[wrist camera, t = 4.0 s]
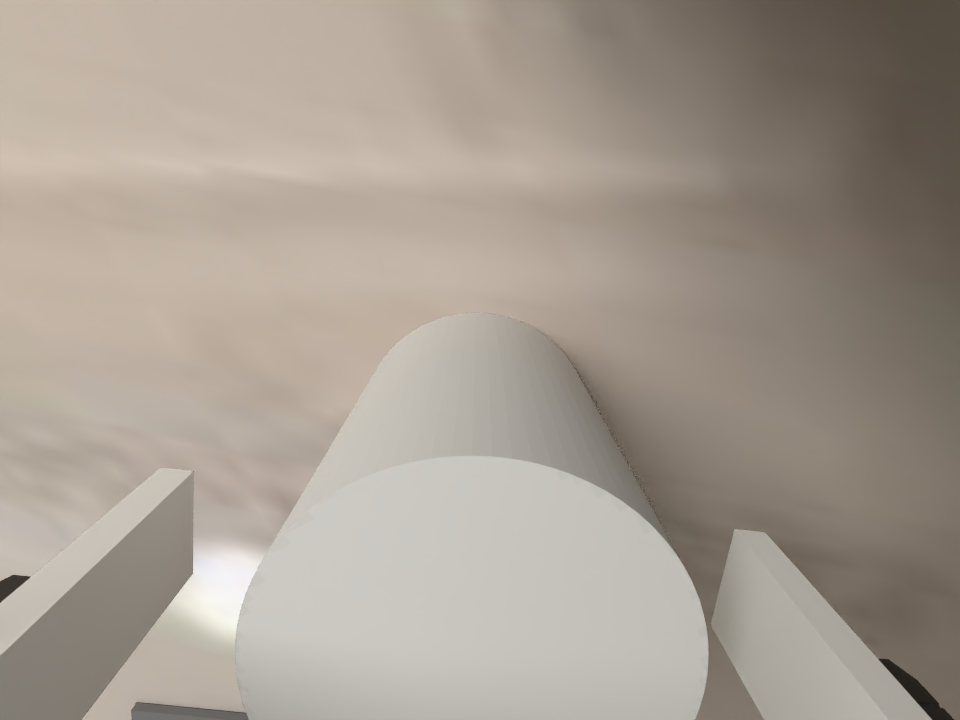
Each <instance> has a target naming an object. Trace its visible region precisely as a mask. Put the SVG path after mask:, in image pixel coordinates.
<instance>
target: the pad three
mask: <svg viewBox="0 0 960 720" xmlns="http://www.w3.org/2000/svg"><path fill="white" fill-rule="evenodd" d="M131 713H132V720H249V719H248V717H247V714H246V713H237V712H227V711H217V710H207V709H197V708H187V707H177V706H167V705H156V704H146V703H136V704H135V706H134V707H133V709H132V710H131Z"/></svg>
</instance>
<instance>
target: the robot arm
mask: <svg viewBox="0 0 960 720" xmlns="http://www.w3.org/2000/svg"><path fill="white" fill-rule="evenodd" d="M193 492H194V471H188V470H179V469H169V468H160V469H159V470H157V471H156V472H155V473H154V474H153V475H151V476H150V477H149V478H148V479H147V480H145V481H144V482H143V483H142V484H141V485H140V486H138V487H137V488H136V489H135V490H134V491H132V492H131V493H130V494H129V495H128V496H127V497H125V498H124V499H123V500H122V501H121V502H119V503H118V504H117V505H116V506H115V507H113V508H112V509H111V510H110V511H109V512H108V513H106V514H105V515H104V516H103V517H102V518H100V519H99V520H98V521H97V522H96V523H94V524H93V525H92V526H91V527H90V528H89V529H87V530H86V531H85V532H84V533H83V534H81V535H80V536H79V537H78V538H77V539H75V540H74V541H73V542H72V543H71V544H70V545H68V546H67V547H66V548H65V549H64V550H62V551H61V552H60V553H59V554H58V555H56V556H55V557H54V558H53V559H52V560H51V561H49V562H48V563H47V564H46V565H45V566H43V567H42V568H41V569H40V570H39V571H37V572H36V573H35V574H34V575H33V576H32V577H29V576H19V575H12V576H10V577H8V578H6V579H4V580H2V581H0V720H82V718H83V717H84V716H85V714H86V713H87V712H88V711H89V709H90V708H91V707H92V705H93V704H94V703H95V701H96V700H97V699H98V697H99V696H100V695H101V693H102V692H103V691H104V689H105V688H106V687H107V686H108V684H109V683H110V682H111V680H112V679H113V678H114V676H115V675H116V674H117V672H118V671H119V670H120V668H121V667H122V666H123V664H124V663H125V662H126V661H127V659H128V658H129V657H130V655H131V654H132V653H133V651H134V650H135V649H136V647H137V646H138V645H139V643H140V642H141V641H142V639H143V638H144V637H145V636H146V634H147V633H148V632H149V630H150V629H151V628H152V626H153V625H154V624H155V622H156V621H157V620H158V618H159V617H160V616H161V614H162V613H163V612H164V611H165V609H166V608H167V607H168V605H169V604H170V603H171V601H172V600H173V599H174V597H175V596H176V595H177V593H178V592H179V591H180V589H181V588H182V587H183V586H184V584H185V583H186V582H187V580H188V579H189V578H190V576H191V575H192V574H193ZM711 627H712V629H713V630H714V632H715V634H716V636H717V637H718V639H719V641H720V643H721V645H722V646H723V648H724V650H725V652H726V653H727V655H728V657H729V659H730V660H731V662H732V664H733V666H734V668H735V669H736V671H737V673H738V675H739V676H740V678H741V680H742V682H743V683H744V685H745V687H746V689H747V691H748V692H749V694H750V696H751V698H752V699H753V701H754V703H755V705H756V706H757V708H758V710H759V712H760V714H761V715H762V717H763V719H764V720H954V719H953V718H952V717H951V716H950V715H949V714H948V713H947V712H946V711H945V710H944V709H943V708H940V707H939V703H938V702H937V701H936V700H935V699H934V698H933V697H932V696H931V695H930V694H929V692H928V691H927V690H926V689H925V688H924V687H923V686H922V685H921V684H920V683H919V682H918V681H917V680H916V679H915V678H913V677H912V676H910V675H909V674H908V673H906V672H905V671H904V670H902V669H901V668H899V667H898V666H897V665H895V664H894V663H893V662H891V661H890V660H887V659H878V658H877V657H876V656H875V655H874V654H873V653H872V652H871V651H870V649H869V648H868V647H867V646H866V645H865V644H864V643H863V642H862V640H861V639H860V638H859V637H858V636H857V635H856V634H855V633H854V631H853V630H852V629H851V628H850V627H849V626H848V625H847V624H846V623H845V621H844V620H843V619H842V618H841V617H840V616H839V615H838V614H837V612H836V611H835V610H834V609H833V608H832V607H831V606H830V605H829V603H828V602H827V601H826V600H825V599H824V598H823V597H822V596H821V594H820V593H819V592H818V591H817V590H816V589H815V588H814V587H813V586H812V584H811V583H810V582H809V581H808V580H807V579H806V578H805V577H804V575H803V574H802V573H801V572H800V571H799V570H798V569H797V568H796V566H795V565H794V564H793V563H792V562H791V561H790V560H789V559H788V557H787V556H786V555H785V554H784V553H783V552H782V551H781V550H780V548H779V547H778V546H777V545H776V544H775V543H774V542H773V541H772V540H771V538H770V537H769V536H768V535H767V534H766V533H765V532H758V531H749V530H740V529H734V533H733V537H732V541H731V545H730V549H729V553H728V557H727V561H726V565H725V569H724V573H723V577H722V581H721V585H720V589H719V593H718V597H717V601H716V605H715V609H714V613H713V617H712V621H711Z"/></svg>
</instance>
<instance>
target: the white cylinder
mask: <svg viewBox="0 0 960 720" xmlns="http://www.w3.org/2000/svg"><path fill="white" fill-rule="evenodd" d="M708 660H709V655H708V636H707V628H706V623H705V618H704V613H703V610H702V607H701V603H700V600H699V597H698V594H697V592H696V590H695V587H694V585H693V583H692V580H691V578H690V577H689V575H688V573H687V571H686V569H685V567H684V565H683V564H682V562H681V560H680V558H679V556H678V555H677V553H676V551H675V549H674V547H673V545H672V544H671V542H670V540H669V538H668V536H667V535H666V533H665V531H664V529H663V527H662V526H661V524H660V522H659V520H658V518H657V517H656V515H655V513H654V511H653V509H652V507H651V506H650V504H649V502H648V500H647V498H646V497H645V495H644V493H643V491H642V489H641V488H640V486H639V484H638V482H637V480H636V479H635V477H634V475H633V473H632V471H631V469H630V468H629V466H628V464H627V462H626V460H625V459H624V457H623V455H622V453H621V451H620V450H619V448H618V446H617V444H616V442H615V440H614V439H613V437H612V435H611V433H610V431H609V430H608V428H607V426H606V424H605V422H604V421H603V419H602V417H601V415H600V413H599V412H598V410H597V408H596V406H595V404H594V402H593V401H592V399H591V397H590V395H589V393H588V392H587V390H586V388H585V386H584V384H583V383H582V381H581V379H580V377H579V375H578V374H577V372H576V370H575V368H574V366H573V365H572V363H571V362H570V360H569V359H568V358H567V356H566V355H565V354H564V352H563V351H562V350H561V349H560V348H559V347H558V346H557V345H556V344H555V343H554V342H553V341H552V340H550V339H549V338H548V337H547V336H545V335H544V334H543V333H541V332H540V331H538V330H536V329H535V328H533V327H531V326H529V325H527V324H525V323H523V322H521V321H518V320H515V319H512V318H509V317H505V316H501V315H496V314H489V313H463V314H456V315H450V316H446V317H443V318H439V319H436V320H434V321H431V322H429V323H427V324H424V325H422V326H421V327H419V328H417V329H415V330H414V331H412V332H411V333H409V334H408V335H406V336H405V337H404V338H402V339H401V340H400V341H399V342H398V343H397V344H396V345H395V346H394V347H393V348H392V349H391V350H390V351H389V352H388V353H387V355H386V356H385V357H384V358H383V360H382V361H381V363H380V364H379V366H378V368H377V369H376V371H375V373H374V374H373V376H372V378H371V379H370V381H369V383H368V384H367V386H366V388H365V389H364V391H363V393H362V394H361V396H360V398H359V399H358V401H357V403H356V404H355V406H354V408H353V410H352V411H351V413H350V415H349V416H348V418H347V420H346V421H345V423H344V425H343V426H342V428H341V430H340V431H339V433H338V435H337V436H336V438H335V440H334V441H333V443H332V445H331V446H330V448H329V450H328V451H327V453H326V455H325V456H324V458H323V460H322V461H321V463H320V465H319V466H318V468H317V470H316V472H315V473H314V475H313V477H312V478H311V480H310V482H309V483H308V485H307V487H306V488H305V490H304V492H303V493H302V495H301V497H300V498H299V500H298V502H297V503H296V505H295V507H294V508H293V510H292V512H291V513H290V515H289V517H288V518H287V520H286V522H285V523H284V525H283V527H282V528H281V530H280V532H279V534H278V535H277V537H276V539H275V540H274V542H273V544H272V545H271V547H270V549H269V550H268V552H267V554H266V555H265V557H264V559H263V560H262V562H261V564H260V565H259V567H258V569H257V571H256V573H255V575H254V577H253V578H252V580H251V583H250V585H249V588H248V590H247V592H246V595H245V598H244V601H243V604H242V607H241V610H240V615H239V620H238V624H237V632H236V640H235V664H236V675H237V681H238V687H239V691H240V695H241V699H242V703H243V705H244V708H245V711H246V714H247V717H248V719H249V720H695V719H696V716H697V714H698V711H699V708H700V705H701V702H702V698H703V695H704V691H705V686H706V680H707V673H708Z"/></svg>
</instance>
